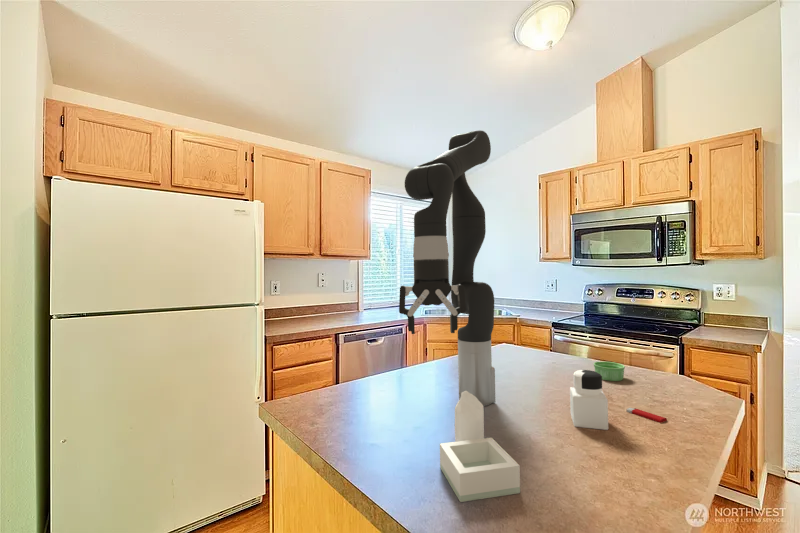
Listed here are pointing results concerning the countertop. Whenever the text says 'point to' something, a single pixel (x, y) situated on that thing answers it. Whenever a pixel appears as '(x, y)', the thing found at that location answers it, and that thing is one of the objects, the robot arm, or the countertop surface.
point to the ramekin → (610, 370)
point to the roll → (469, 418)
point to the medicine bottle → (588, 401)
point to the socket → (479, 469)
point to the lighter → (646, 415)
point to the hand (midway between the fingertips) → (432, 333)
